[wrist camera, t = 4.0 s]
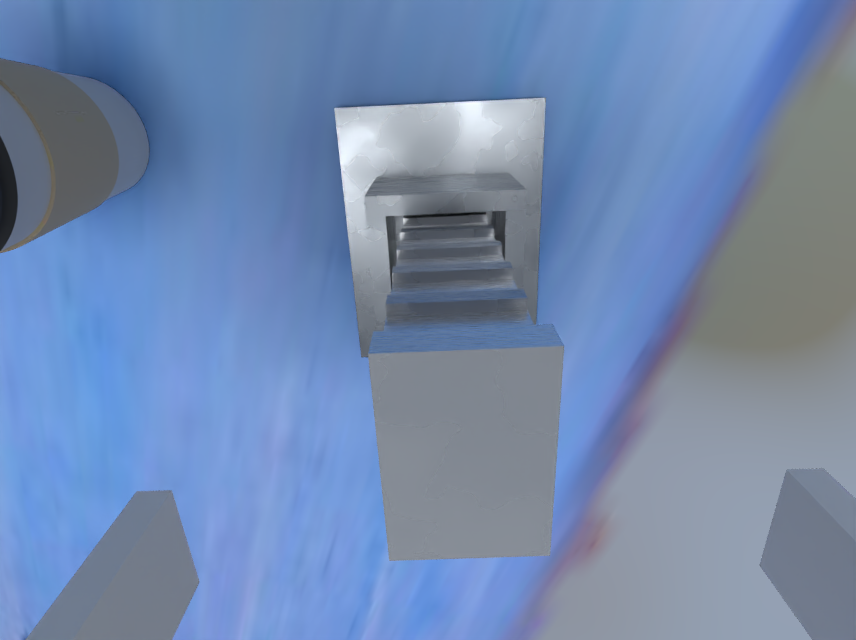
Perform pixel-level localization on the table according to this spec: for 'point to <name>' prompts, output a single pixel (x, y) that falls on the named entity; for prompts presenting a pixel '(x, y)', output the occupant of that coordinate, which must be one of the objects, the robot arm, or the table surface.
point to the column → (463, 399)
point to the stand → (439, 185)
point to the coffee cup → (61, 149)
